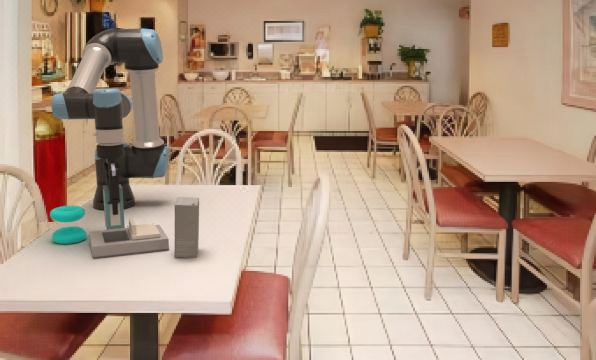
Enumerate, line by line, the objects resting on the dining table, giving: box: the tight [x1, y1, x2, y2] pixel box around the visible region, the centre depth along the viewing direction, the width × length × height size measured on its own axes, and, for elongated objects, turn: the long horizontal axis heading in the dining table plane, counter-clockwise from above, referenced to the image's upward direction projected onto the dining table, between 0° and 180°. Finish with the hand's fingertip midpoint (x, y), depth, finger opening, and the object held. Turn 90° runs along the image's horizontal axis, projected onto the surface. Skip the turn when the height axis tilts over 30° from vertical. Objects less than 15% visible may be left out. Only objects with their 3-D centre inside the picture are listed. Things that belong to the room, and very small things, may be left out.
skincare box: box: [173, 196, 200, 259], centre depth 176 cm, size 8×7×16 cm
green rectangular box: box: [103, 184, 126, 230], centre depth 180 cm, size 5×5×12 cm
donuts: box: [49, 205, 88, 245], centre depth 189 cm, size 10×10×10 cm
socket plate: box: [88, 224, 170, 260], centre depth 183 cm, size 16×21×4 cm
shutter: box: [126, 217, 160, 240], centre depth 184 cm, size 12×8×4 cm, turn 22°
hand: (114, 222), depth 181 cm, fingers closed on green rectangular box, 5 cm apart
